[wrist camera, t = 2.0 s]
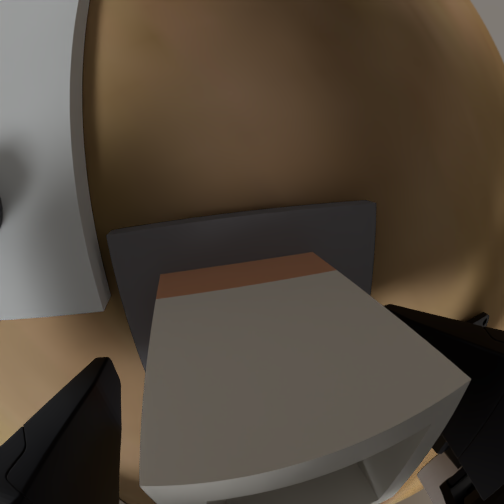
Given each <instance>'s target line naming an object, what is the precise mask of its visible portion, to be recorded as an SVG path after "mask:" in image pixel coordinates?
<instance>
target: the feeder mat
mask: <svg viewBox="0 0 504 504" xmlns="http://www.w3.org/2000/svg"><path fill="white" fill-rule="evenodd" d="M375 231H376V203H374V202H371V201H367V200H361V201H347V202H335V203H323V204H311V205H301V206H290V207H280V208H271V209H261V210H252V211H244V212H235V213H227V214H219V215H211V216H203V217H196V218H188V219H181V220H174V221H167V222H160V223H154V224H147V225H141V226H134V227H128V228H122V229H116V230H111V231H110V232H109V233H108V234H107V235H106V237H107V242H108V247H109V251H110V256H111V260H112V265H113V269H114V273H115V277H116V281H117V285H118V289H119V293H120V296H121V300H122V303H123V307H124V310H125V314H126V317H127V320H128V324H129V327H130V330H131V333H132V336H133V339H134V342H135V345H136V348H137V351H138V354H139V357H140V359H141V362H142V365H143V367H144V370H145V373H146V365H147V356H148V348H149V341H150V334H151V327H152V320H153V314H154V307H155V301H156V295H157V290H158V284H159V279H160V274H167V273H174V272H181V271H188V270H195V269H202V268H209V267H215V266H222V265H229V264H236V263H243V262H249V261H256V260H263V259H270V258H276V257H283V256H289V255H296V254H303V253H309V252H313V253H315V254H316V255H317V256H319V257H320V258H321V259H323V260H324V261H325V262H327V263H328V264H329V265H331V266H332V267H333V268H335V269H336V270H337V271H339V272H340V273H341V274H343V275H344V276H345V277H347V278H348V279H349V280H350V281H352V282H353V283H354V284H356V285H357V286H358V287H360V288H361V289H362V290H363V291H365V292H366V293H367V294H369V295H370V294H371V284H372V274H373V263H374V249H375Z"/></svg>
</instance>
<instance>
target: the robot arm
mask: <svg viewBox="0 0 504 504" xmlns="http://www.w3.org/2000/svg"><path fill="white" fill-rule="evenodd" d="M384 307H385V308H386V309H388V310H389V311H390V312H391V313H393V314H394V315H395V316H396V317H398V318H399V319H400V320H401V321H403V322H404V323H405V324H406V325H408V326H409V327H410V328H411V329H413V330H414V331H415V332H416V333H417V334H419V335H420V336H421V337H422V338H424V339H425V340H426V341H427V342H428V343H430V344H431V345H432V346H433V347H434V348H436V349H437V350H438V351H439V352H440V353H442V354H443V355H444V356H445V357H446V358H447V359H449V360H450V361H451V362H452V363H453V364H455V365H456V366H457V367H458V368H459V369H460V370H462V371H463V372H464V373H465V374H466V375H467V376H468V377H470V378H471V381H470V383H469V385H468V387H467V389H466V391H465V393H464V395H463V397H462V399H461V400H460V402H459V404H458V406H457V408H456V410H455V411H454V413H453V415H452V416H451V418H450V420H449V421H448V423H447V425H446V426H445V428H444V430H443V431H442V433H441V434H440V436H439V437H438V439H437V440H436V442H435V443H434V445H433V446H432V448H433V449H434V451H435V452H436V453H438V454H442V453H443V452H444V453H445V454H446V455H447V457H448V458H449V459H450V460H451V461H452V463H453V464H454V465H455V466H456V467H457V469H459V468H460V469H459V470H458V471H457V472H456V473H455V474H454V475H453V476H451V477H449V478H448V479H446V480H445V481H444V482H443V483H442V484H441V485H440V486H439V488H440V490H441V492H442V495H443V498H444V500H445V503H446V504H504V331H502V330H498V329H493V328H489V327H486V326H487V323H488V319H489V315H488V314H486V313H485V312H483V313H481V314H479V315H478V316H476V317H474V318H472V319H470V320H469V321H467V322H463V321H458V320H454V319H450V318H446V317H442V316H438V315H433V314H429V313H425V312H421V311H417V310H413V309H409V308H405V307H401V306H397V305H393V304H388V305H385V306H384ZM121 430H122V427H121V383H120V379H119V376H118V374H117V372H116V370H115V367H114V365H113V363H112V361H111V359H110V358H109V357H99V358H95V359H94V360H93V361H92V362H91V363H90V364H89V365H88V366H86V367H85V368H84V369H83V370H82V371H81V372H80V373H79V374H78V375H77V376H75V377H74V378H73V379H72V380H71V381H70V382H69V383H68V384H67V385H66V386H65V387H63V388H62V389H61V390H60V391H59V392H58V393H57V394H56V395H55V396H54V397H53V398H52V399H51V400H49V401H48V402H47V403H46V404H45V405H44V406H43V407H42V408H41V409H40V410H39V411H38V412H37V413H36V414H35V415H33V416H32V417H31V418H30V419H29V420H28V421H27V422H26V423H25V424H24V427H21V428H20V429H19V430H18V431H17V432H16V433H15V434H13V435H12V436H11V437H10V438H9V439H8V440H7V441H6V442H5V443H4V444H3V445H1V446H0V504H119V468H120V447H121Z"/></svg>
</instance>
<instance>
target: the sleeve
mask: <svg viewBox="0 0 504 504" xmlns="http://www.w3.org/2000/svg"><path fill="white" fill-rule="evenodd" d="M470 381H471V378H470V377H468V376H467V375H466V374H465V373H464V372H463V371H462V370H460V369H459V368H458V367H457V366H456V365H455V364H453V363H452V362H451V361H450V360H449V359H447V358H446V357H445V356H444V355H443V354H442V353H440V352H439V351H438V350H437V349H436V348H434V347H433V346H432V345H431V344H430V343H428V342H427V341H426V340H425V339H424V338H422V337H421V336H420V335H419V334H417V333H416V332H415V331H414V330H413V329H411V328H410V327H409V326H408V325H406V324H405V323H404V322H403V321H401V320H400V319H399V318H398V317H396V316H395V315H394V314H393V313H391V312H390V311H389V310H388V309H386V308H385V307H384V306H383V305H381V304H380V303H379V302H378V301H376V300H375V299H374V298H372V297H371V296H370V295H369V294H367V293H366V292H365V291H363V290H362V289H361V288H360V287H358V286H357V285H356V284H354V283H353V282H352V281H350V280H349V279H348V278H347V277H345V276H344V275H343V274H341V273H340V272H339V271H337V270H336V269H335V268H333V267H332V266H331V265H329V264H328V263H327V262H325V261H324V260H323V259H321V258H320V257H319V256H317V255H316V254H315V253H313V252H309V253H303V254H296V255H289V256H283V257H276V258H270V259H263V260H256V261H249V262H243V263H236V264H229V265H222V266H215V267H209V268H202V269H195V270H188V271H181V272H174V273H167V274H160V279H159V284H158V290H157V295H156V301H155V307H154V314H153V320H152V327H151V334H150V341H149V348H148V356H147V365H146V374H145V383H144V394H143V406H142V420H141V437H140V470H139V486H140V487H141V488H142V489H143V490H144V492H145V493H146V494H147V495H148V496H149V497H150V498H151V499H152V500H153V501H154V502H155V503H156V504H379V503H381V502H383V501H385V500H387V499H389V498H391V497H393V496H394V495H395V494H396V492H397V491H398V490H399V489H400V488H401V487H402V486H403V484H404V483H405V482H406V481H407V480H408V478H409V477H410V476H411V475H412V473H413V472H414V471H415V470H416V468H417V467H418V466H419V464H420V463H421V462H422V460H423V459H424V458H425V456H426V455H427V453H428V452H429V451H430V449H431V448H432V446H433V445H434V443H435V442H436V440H437V439H438V437H439V436H440V434H441V433H442V431H443V430H444V428H445V426H446V425H447V423H448V421H449V420H450V418H451V416H452V415H453V413H454V411H455V410H456V408H457V406H458V404H459V402H460V400H461V399H462V397H463V395H464V393H465V391H466V389H467V387H468V385H469V383H470Z"/></svg>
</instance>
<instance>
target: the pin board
mask: <svg viewBox="0 0 504 504" xmlns="http://www.w3.org/2000/svg"><path fill="white" fill-rule="evenodd" d="M89 2H90V0H0V320H12V319H26V318H39V317H50V316H62V315H72V314H82V313H92V312H101V311H104V310H105V307H106V305H107V303H108V301H109V299H110V297H111V293H110V290H109V286H108V282H107V279H106V275H105V271H104V267H103V263H102V258H101V254H100V249H99V245H98V240H97V235H96V230H95V225H94V219H93V213H92V207H91V201H90V194H89V187H88V179H87V171H86V161H85V150H84V137H83V116H82V73H83V54H84V41H85V31H86V22H87V15H88V8H89Z"/></svg>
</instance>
